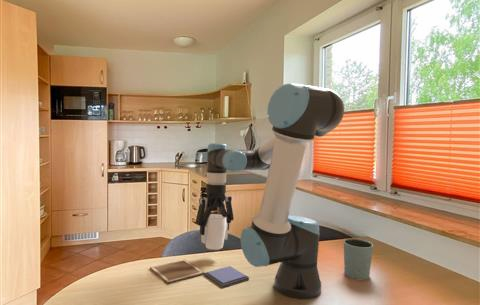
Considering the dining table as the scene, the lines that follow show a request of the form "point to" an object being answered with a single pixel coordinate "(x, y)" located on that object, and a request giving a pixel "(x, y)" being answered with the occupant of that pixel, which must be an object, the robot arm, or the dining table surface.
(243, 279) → the ink pad
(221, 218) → the cup
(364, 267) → the green tumbler
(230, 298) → the dining table surface
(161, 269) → the marked board
